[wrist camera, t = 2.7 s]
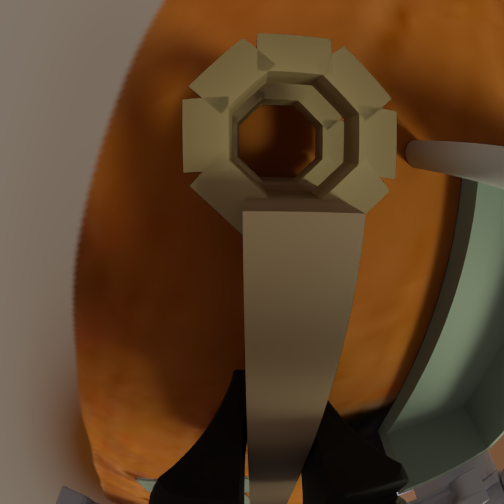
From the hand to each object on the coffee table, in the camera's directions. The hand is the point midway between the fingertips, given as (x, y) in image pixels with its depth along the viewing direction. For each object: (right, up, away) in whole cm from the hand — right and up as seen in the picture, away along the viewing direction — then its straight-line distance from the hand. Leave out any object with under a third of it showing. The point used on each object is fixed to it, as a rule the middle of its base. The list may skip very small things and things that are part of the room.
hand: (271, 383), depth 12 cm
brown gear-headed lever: (0, +2, +1) cm, 2 cm away
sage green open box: (+12, +1, +1) cm, 12 cm away
